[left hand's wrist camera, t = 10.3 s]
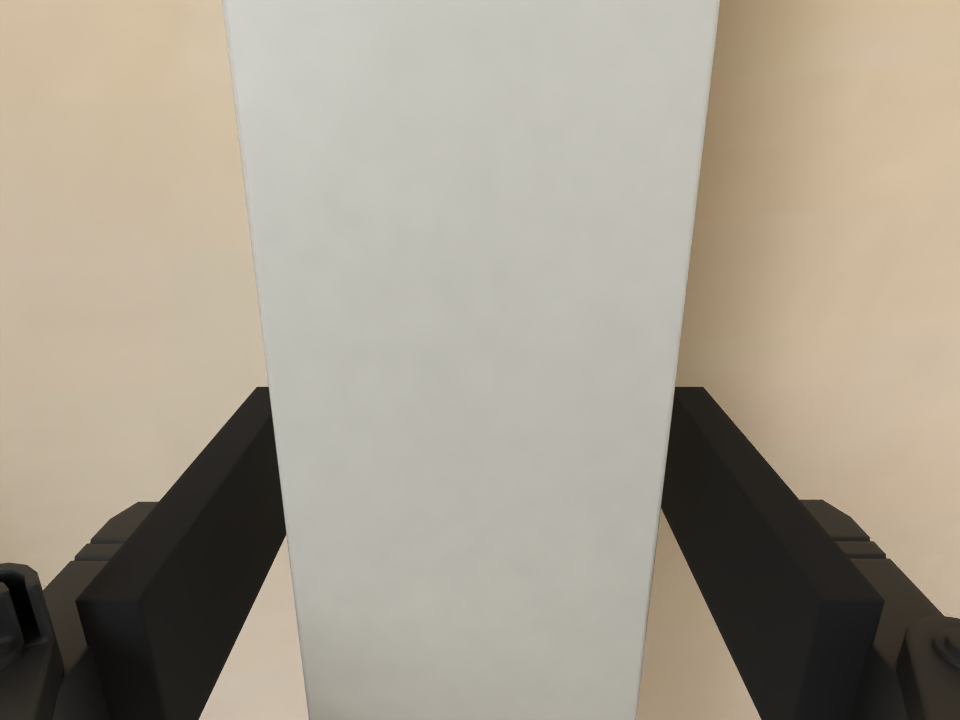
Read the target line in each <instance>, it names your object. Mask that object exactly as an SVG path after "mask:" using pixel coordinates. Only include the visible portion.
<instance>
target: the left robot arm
mask: <svg viewBox="0 0 960 720" xmlns="http://www.w3.org/2000/svg"><path fill="white" fill-rule="evenodd" d="M661 508H662V510H663V513H664V515H665V517H666V519H667V521H668V523H669V525H670V527H671V529H672V532H673V534H674V536H675V538H676V540H677V542H678V544H679V546H680V548H681V551H682V553H683V555H684V557H685V559H686V561H687V563H688V565H689V567H690V570H691V572H692V574H693V576H694V578H695V580H696V582H697V584H698V586H699V589H700V591H701V593H702V595H703V597H704V599H705V601H706V603H707V605H708V608H709V610H710V612H711V614H712V616H713V618H714V620H715V622H716V624H717V627H718V629H719V631H720V633H721V635H722V637H723V639H724V641H725V643H726V646H727V648H728V650H729V652H730V654H731V656H732V658H733V660H734V662H735V665H736V667H737V669H738V671H739V673H740V675H741V677H742V679H743V681H744V684H745V686H746V688H747V690H748V692H749V694H750V696H751V698H752V701H753V703H754V705H755V707H756V709H757V711H758V713H759V715H760V717H761V720H960V619H958V618H952V617H945V616H944V615H943V614H942V613H941V612H940V611H939V610H938V609H937V608H936V607H935V606H934V605H933V604H932V603H931V602H930V601H929V600H928V598H927V597H926V596H925V595H924V594H923V593H922V592H921V591H920V590H919V589H918V588H917V587H916V586H915V585H914V584H913V583H912V582H911V581H910V579H909V578H908V577H907V576H906V575H905V574H904V573H903V572H902V571H901V570H900V569H899V568H898V567H897V566H896V565H895V564H894V563H893V561H892V560H891V559H887V558H886V554H885V553H884V552H883V551H882V550H881V549H880V548H879V547H878V546H877V545H876V543H875V542H874V541H870V537H869V536H868V535H867V534H866V533H865V532H864V531H863V530H862V529H861V528H860V527H859V526H858V524H857V523H856V522H855V521H854V520H853V519H852V518H851V517H850V516H848V515H846V514H845V513H843V512H841V511H840V510H838V509H836V508H835V507H833V506H832V505H830V504H828V503H827V502H825V501H823V500H799V499H798V498H797V497H796V495H795V494H794V493H793V492H792V491H791V490H790V488H789V487H788V486H787V485H786V484H785V483H784V481H783V480H782V479H781V478H780V477H779V476H778V474H777V473H776V472H775V471H774V470H773V468H772V467H771V466H770V465H769V464H768V463H767V461H766V460H765V459H764V458H763V457H762V456H761V454H760V453H759V452H758V451H757V450H756V449H755V447H754V446H753V445H752V444H751V443H750V441H749V440H748V439H747V438H746V437H745V436H744V434H743V433H742V432H741V431H740V430H739V429H738V427H737V426H736V425H735V424H734V423H733V422H732V420H731V419H730V418H729V417H728V416H727V414H726V413H725V412H724V411H723V410H722V409H721V407H720V406H719V405H718V404H717V403H716V402H715V400H714V399H713V398H712V397H711V396H710V395H709V393H708V392H707V391H706V390H705V389H704V387H675V391H674V399H673V408H672V416H671V425H670V433H669V442H668V450H667V459H666V467H665V476H664V484H663V493H662V501H661ZM286 534H287V533H286V525H285V517H284V508H283V500H282V492H281V484H280V475H279V467H278V459H277V450H276V442H275V434H274V426H273V417H272V409H271V401H270V392H269V387H256V389H255V390H254V391H253V392H252V393H251V395H250V396H249V397H248V398H247V399H246V400H245V402H244V403H243V404H242V405H241V406H240V407H239V409H238V410H237V411H236V412H235V413H234V414H233V416H232V417H231V418H230V419H229V420H228V422H227V423H226V424H225V425H224V426H223V427H222V429H221V430H220V431H219V432H218V433H217V434H216V436H215V437H214V438H213V439H212V440H211V441H210V443H209V444H208V445H207V446H206V447H205V449H204V450H203V451H202V452H201V453H200V454H199V456H198V457H197V458H196V459H195V460H194V461H193V463H192V464H191V465H190V466H189V467H188V468H187V470H186V471H185V472H184V473H183V474H182V476H181V477H180V478H179V479H178V480H177V481H176V483H175V484H174V485H173V486H172V487H171V488H170V490H169V491H168V492H167V493H166V494H165V495H164V497H163V498H162V499H161V500H160V501H159V502H137V503H136V504H134V505H132V506H131V507H129V508H127V509H126V510H124V511H123V512H121V513H119V514H118V515H116V516H114V517H113V518H111V519H110V520H109V521H108V522H107V523H106V524H105V525H104V526H103V527H102V528H101V529H100V530H99V531H98V533H97V534H96V535H95V536H94V537H93V538H92V539H91V543H90V544H86V545H85V546H84V547H83V548H82V550H81V551H80V552H79V553H78V554H77V555H76V556H75V560H74V561H70V562H69V563H68V564H67V566H66V567H65V568H64V569H63V570H62V571H61V572H60V573H59V574H58V575H57V576H56V577H55V578H54V579H53V580H52V581H51V583H50V584H49V585H48V586H47V587H46V588H45V589H44V590H43V591H42V587H41V584H40V580H39V577H38V573H37V572H36V571H34V570H33V569H32V568H30V567H29V566H27V565H22V564H14V563H3V564H0V720H199V717H200V715H201V713H202V711H203V709H204V707H205V705H206V703H207V701H208V698H209V696H210V694H211V692H212V690H213V688H214V686H215V684H216V682H217V679H218V677H219V675H220V673H221V671H222V669H223V667H224V665H225V663H226V660H227V658H228V656H229V654H230V652H231V650H232V648H233V646H234V644H235V641H236V639H237V637H238V635H239V633H240V631H241V629H242V627H243V625H244V622H245V620H246V618H247V616H248V614H249V612H250V610H251V608H252V606H253V603H254V601H255V599H256V597H257V595H258V593H259V591H260V589H261V587H262V584H263V582H264V580H265V578H266V576H267V574H268V572H269V570H270V567H271V565H272V563H273V561H274V559H275V557H276V555H277V553H278V551H279V548H280V546H281V544H282V542H283V540H284V538H285V536H286Z"/></svg>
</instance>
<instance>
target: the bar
mask: <svg viewBox="0 0 960 720" xmlns="http://www.w3.org/2000/svg"><path fill="white" fill-rule="evenodd" d="M222 3H223V11H224V20H225V28H226V36H227V44H228V53H229V61H230V69H231V78H232V86H233V94H234V102H235V111H236V119H237V127H238V136H239V144H240V152H241V160H242V169H243V177H244V185H245V194H246V202H247V210H248V218H249V227H250V235H251V243H252V252H253V260H254V268H255V276H256V285H257V293H258V301H259V310H260V318H261V326H262V334H263V343H264V351H265V359H266V368H267V376H268V384H269V392H270V401H271V409H272V417H273V426H274V434H275V442H276V450H277V459H278V467H279V475H280V484H281V492H282V500H283V508H284V517H285V525H286V533H287V542H288V550H289V558H290V566H291V575H292V583H293V591H294V600H295V608H296V616H297V624H298V633H299V641H300V649H301V658H302V666H303V674H304V682H305V691H306V699H307V707H308V716H309V720H636V714H637V705H638V697H639V688H640V680H641V671H642V663H643V654H644V646H645V637H646V629H647V620H648V612H649V603H650V595H651V586H652V578H653V569H654V561H655V552H656V544H657V535H658V527H659V518H660V510H661V501H662V493H663V484H664V476H665V467H666V459H667V450H668V442H669V433H670V425H671V416H672V408H673V399H674V391H675V382H676V374H677V365H678V357H679V348H680V340H681V331H682V323H683V314H684V306H685V297H686V289H687V280H688V272H689V263H690V255H691V246H692V238H693V229H694V221H695V212H696V204H697V195H698V187H699V178H700V170H701V161H702V153H703V144H704V136H705V127H706V119H707V110H708V102H709V93H710V85H711V76H712V68H713V59H714V51H715V42H716V34H717V25H718V17H719V8H720V0H222Z"/></svg>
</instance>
